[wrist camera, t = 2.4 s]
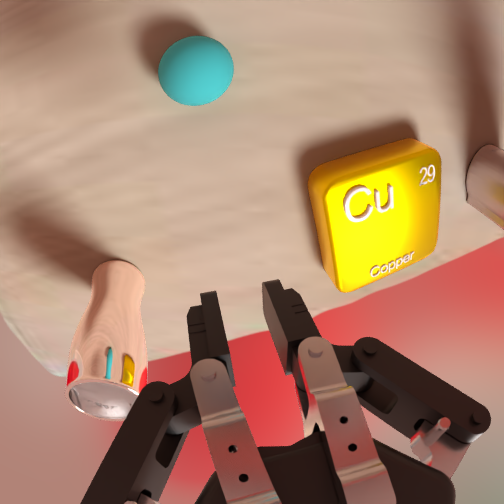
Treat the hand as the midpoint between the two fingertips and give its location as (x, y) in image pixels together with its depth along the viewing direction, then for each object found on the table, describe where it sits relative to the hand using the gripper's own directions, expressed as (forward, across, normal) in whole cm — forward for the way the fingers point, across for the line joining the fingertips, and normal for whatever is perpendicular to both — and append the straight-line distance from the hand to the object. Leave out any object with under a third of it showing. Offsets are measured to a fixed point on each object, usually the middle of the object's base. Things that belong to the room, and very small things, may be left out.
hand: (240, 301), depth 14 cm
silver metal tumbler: (+17, +11, +10) cm, 23 cm away
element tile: (+18, -19, +6) cm, 27 cm away
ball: (+14, 0, -10) cm, 17 cm away
